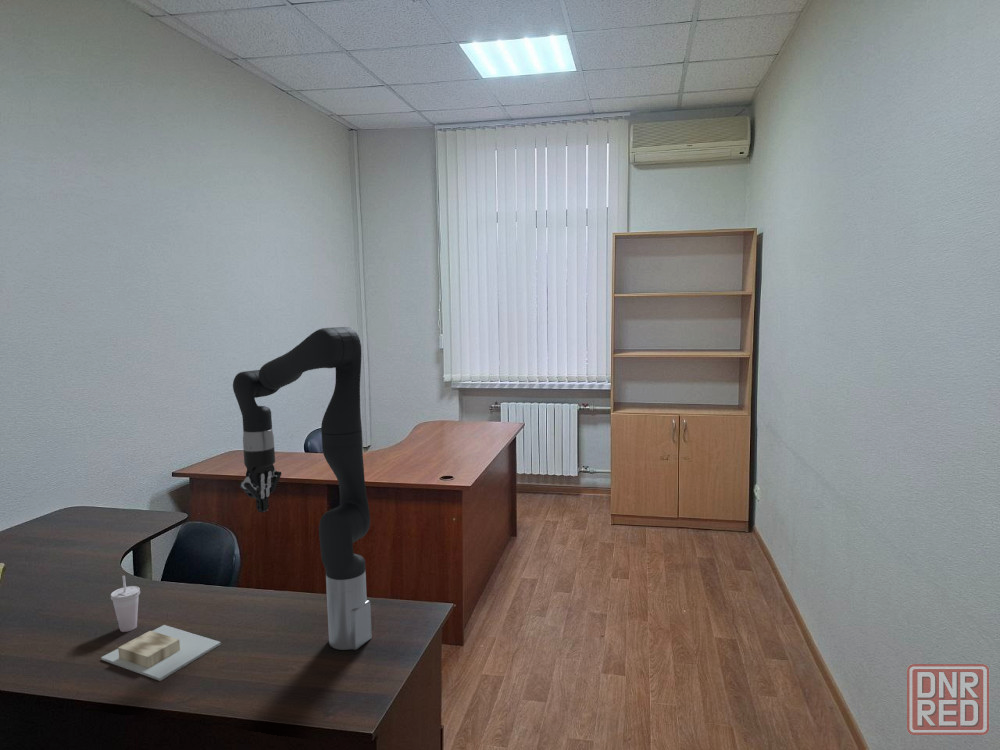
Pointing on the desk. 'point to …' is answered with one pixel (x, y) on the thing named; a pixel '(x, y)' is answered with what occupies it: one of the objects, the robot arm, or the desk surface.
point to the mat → (188, 652)
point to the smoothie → (126, 606)
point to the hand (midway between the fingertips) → (262, 511)
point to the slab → (149, 649)
